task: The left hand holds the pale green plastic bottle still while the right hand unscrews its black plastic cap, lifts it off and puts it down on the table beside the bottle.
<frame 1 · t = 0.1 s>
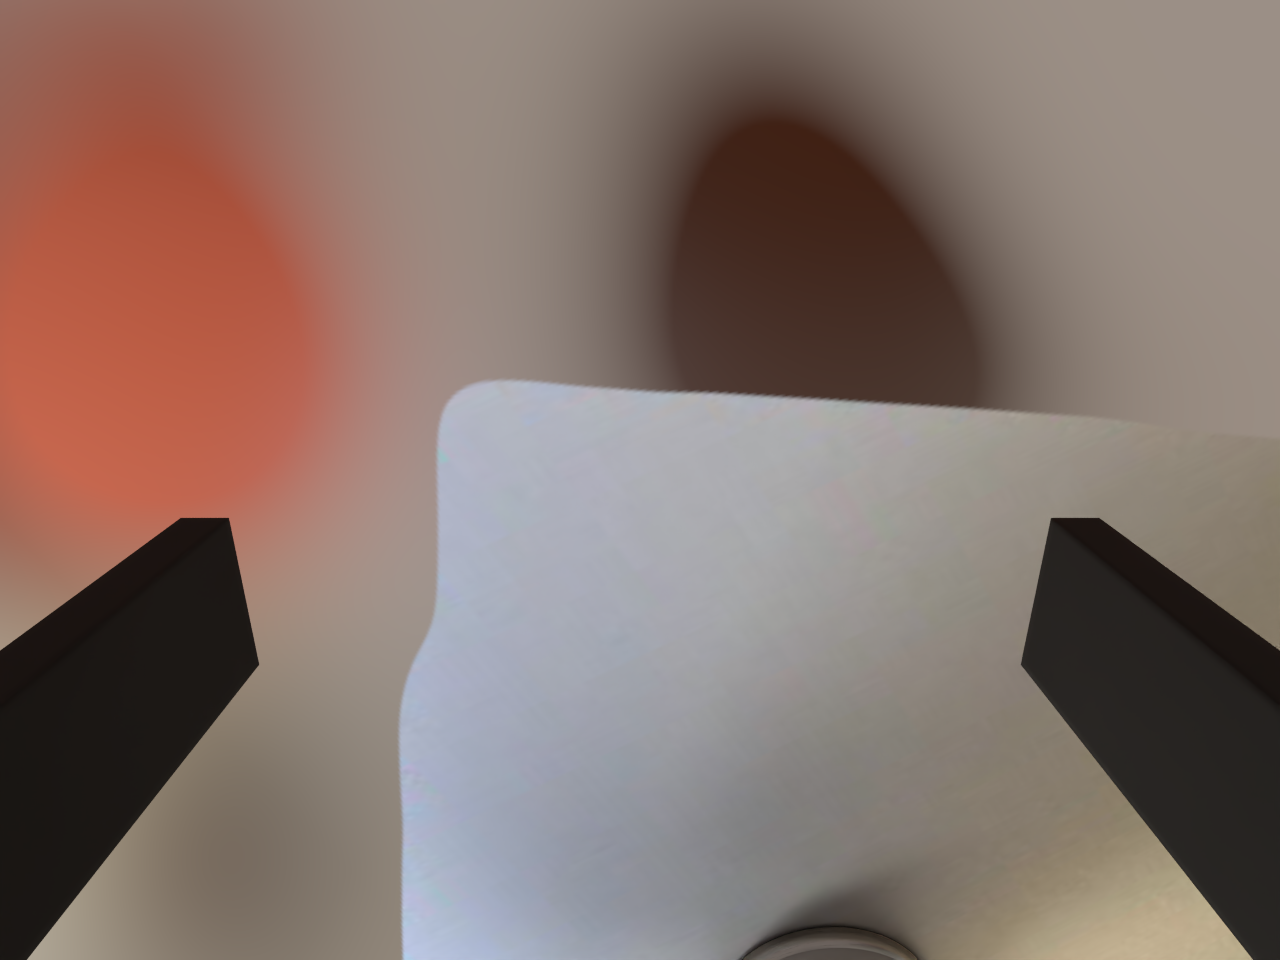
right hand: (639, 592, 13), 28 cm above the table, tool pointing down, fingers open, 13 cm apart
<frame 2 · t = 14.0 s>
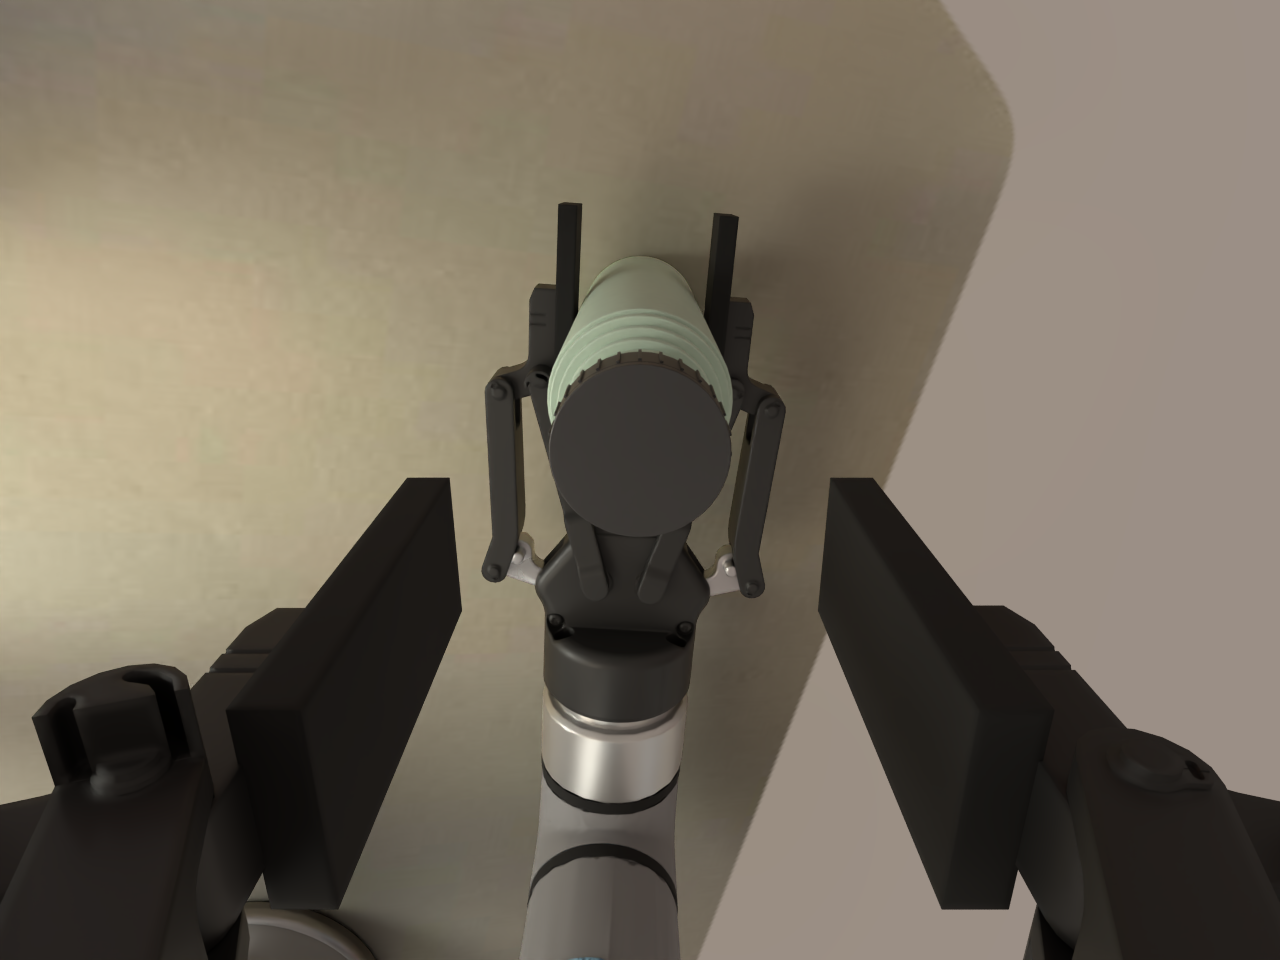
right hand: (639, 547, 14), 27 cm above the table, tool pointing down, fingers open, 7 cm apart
left hand: (648, 210, 32), fingers closed on bottle, 6 cm apart
bottle: (639, 313, 40), on the table, touching left hand
cap: (639, 450, 19), point 22 cm above the table, screwed on, not yet turned
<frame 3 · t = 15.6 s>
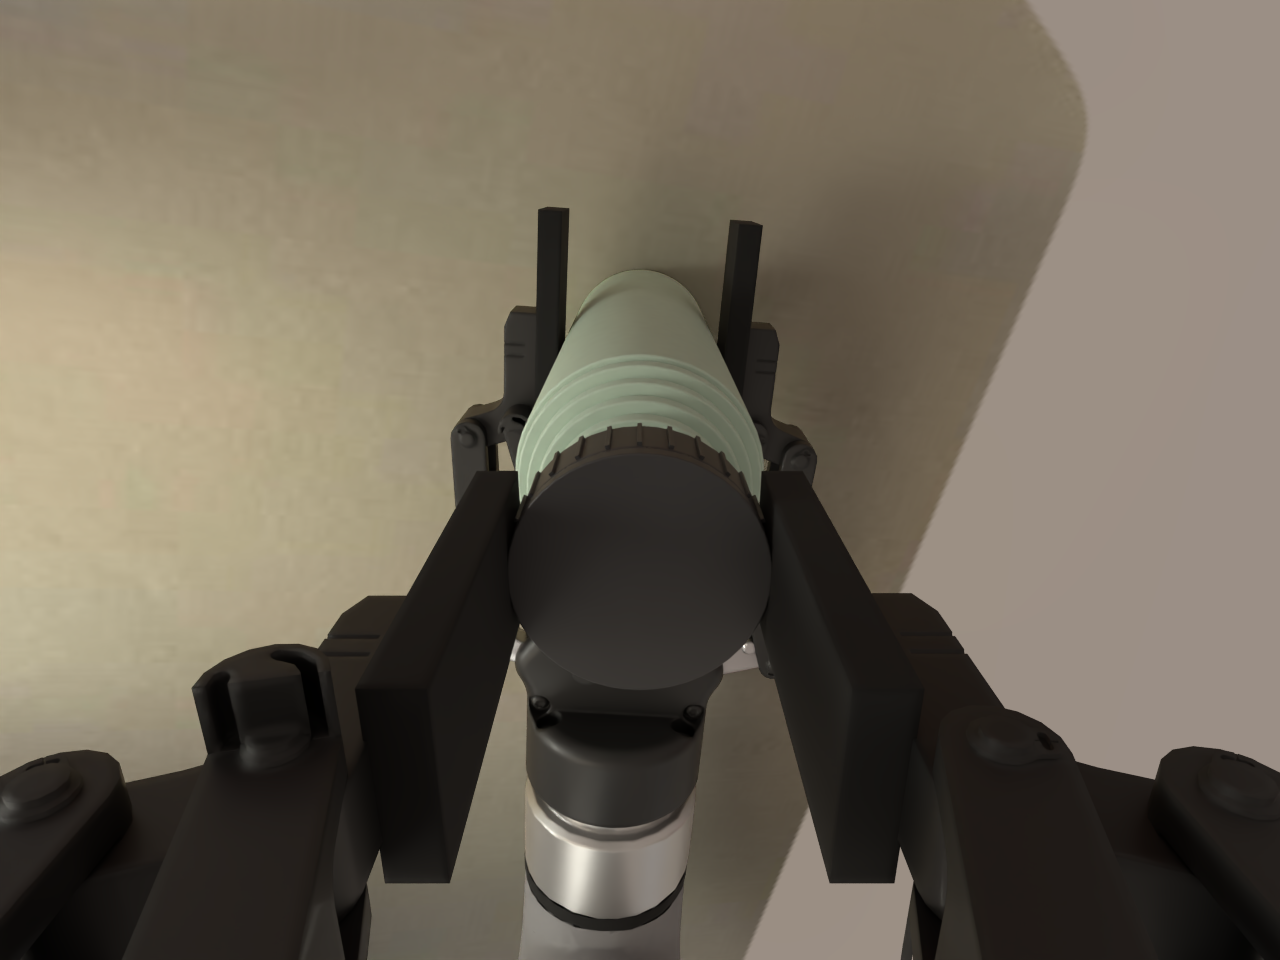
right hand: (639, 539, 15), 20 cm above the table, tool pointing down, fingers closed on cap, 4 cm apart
bottle: (639, 336, 34), on the table, touching left hand
cap: (639, 570, 13), point 22 cm above the table, screwed on, not yet turned, touching right hand
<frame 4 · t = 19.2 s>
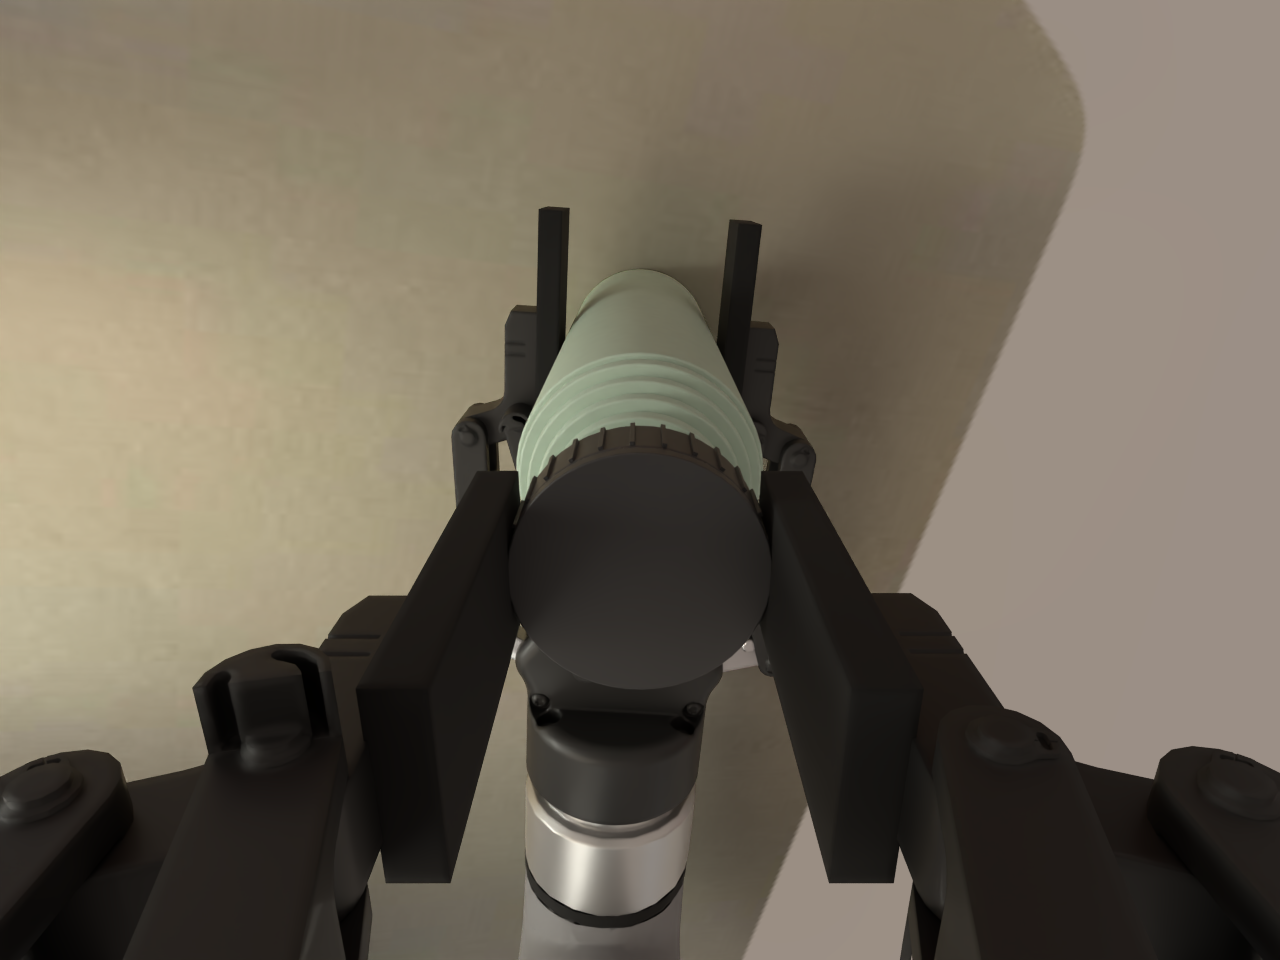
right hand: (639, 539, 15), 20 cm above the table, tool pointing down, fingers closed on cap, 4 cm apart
bottle: (639, 336, 34), on the table, touching left hand
cap: (639, 570, 13), point 22 cm above the table, turned 136° so far, risen 0.1 cm, still on its thread, touching right hand
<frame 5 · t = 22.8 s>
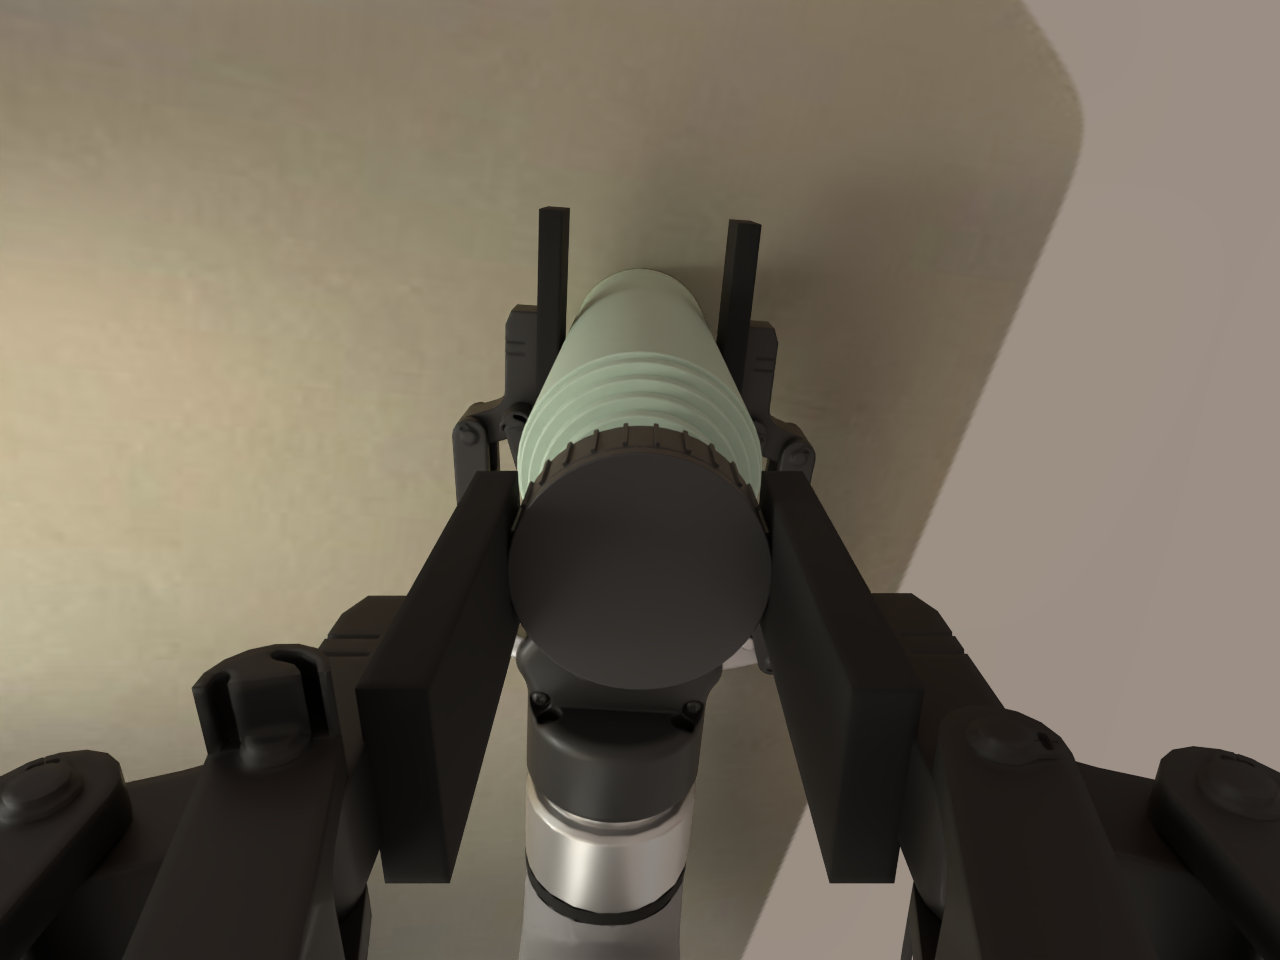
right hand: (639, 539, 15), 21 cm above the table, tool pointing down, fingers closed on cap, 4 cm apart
bottle: (639, 335, 34), on the table, touching left hand
cap: (639, 570, 13), point 22 cm above the table, turned 273° so far, risen 0.3 cm, still on its thread, touching right hand
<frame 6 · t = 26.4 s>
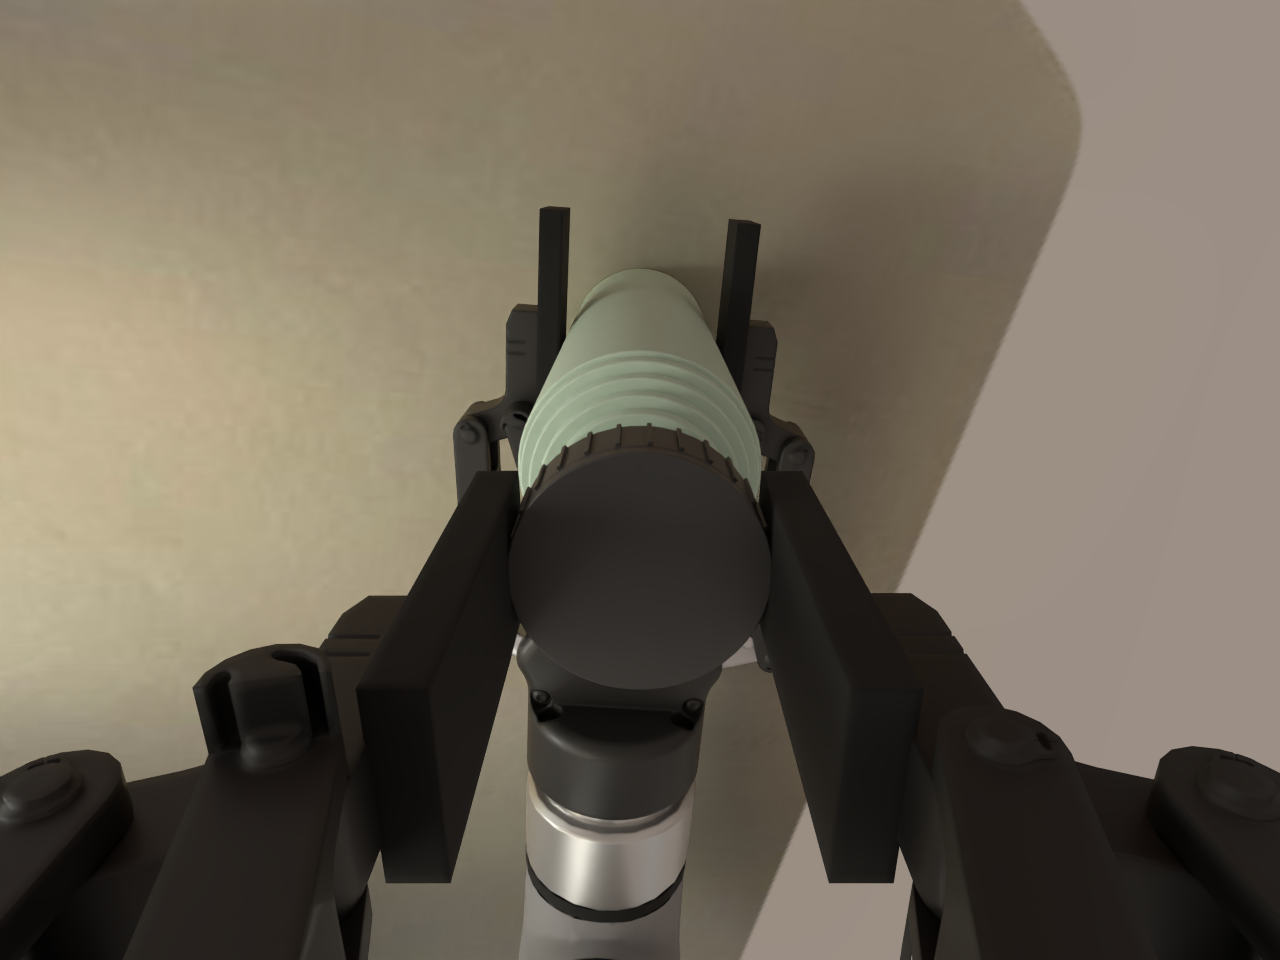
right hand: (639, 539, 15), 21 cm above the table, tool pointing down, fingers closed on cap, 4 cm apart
bottle: (639, 334, 34), on the table, touching left hand
cap: (639, 570, 13), point 22 cm above the table, turned 409° so far, risen 0.4 cm, still on its thread, touching right hand
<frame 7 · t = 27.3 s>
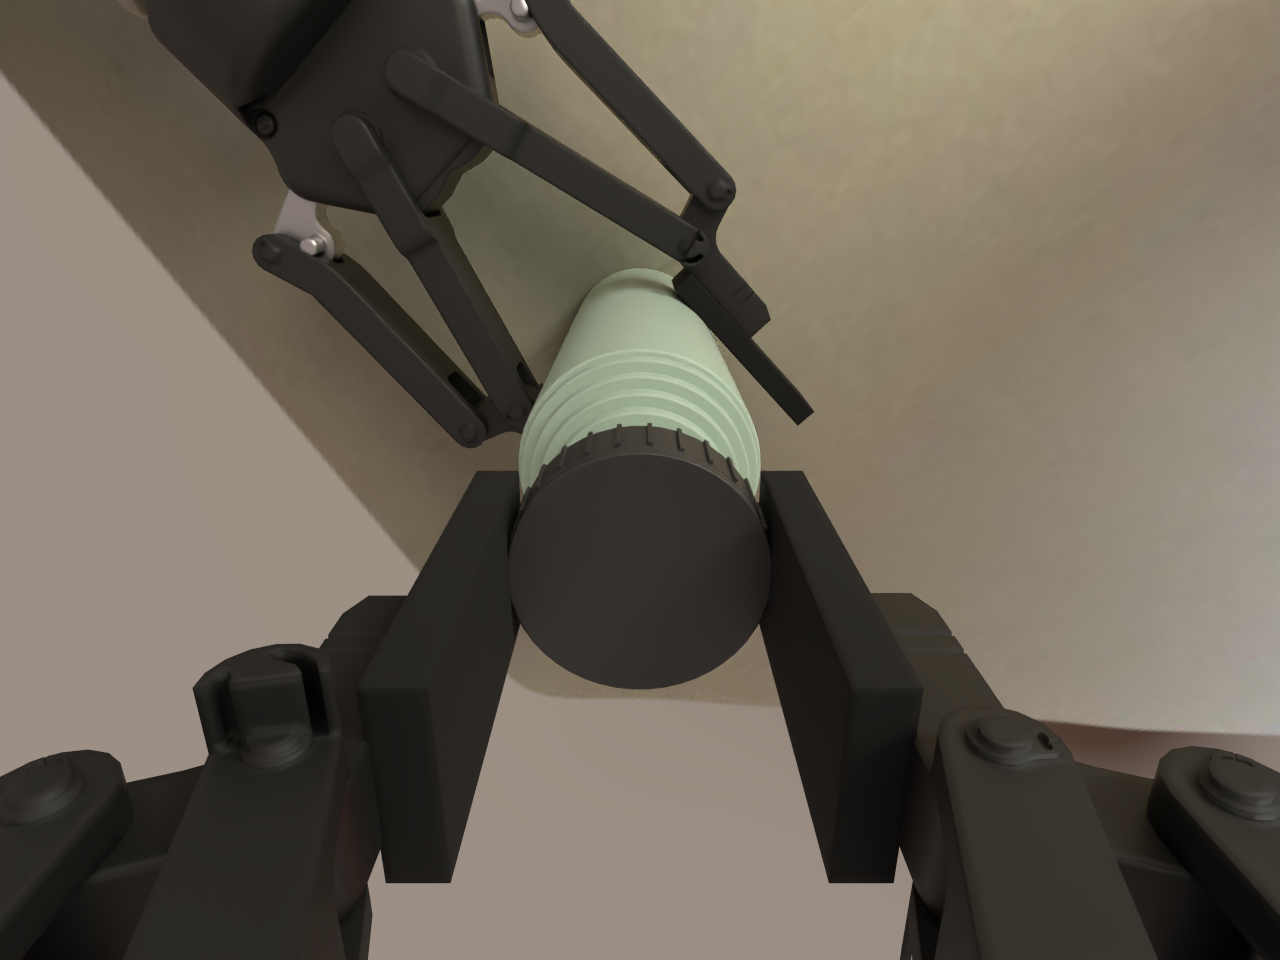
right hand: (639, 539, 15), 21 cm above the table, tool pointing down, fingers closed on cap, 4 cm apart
left hand: (732, 463, 30), fingers closed on bottle, 6 cm apart
bottle: (639, 334, 34), on the table, touching left hand
cap: (639, 570, 13), point 22 cm above the table, off its thread, touching right hand
when the right hand's fingers open (1 cm above the table, at t = 32.7 s): cap stays where it is, point 1 cm above the table.
when the left hand's fingers open (6 cm above the table, at t = 33.8 s): bottle stays where it is, on the table.
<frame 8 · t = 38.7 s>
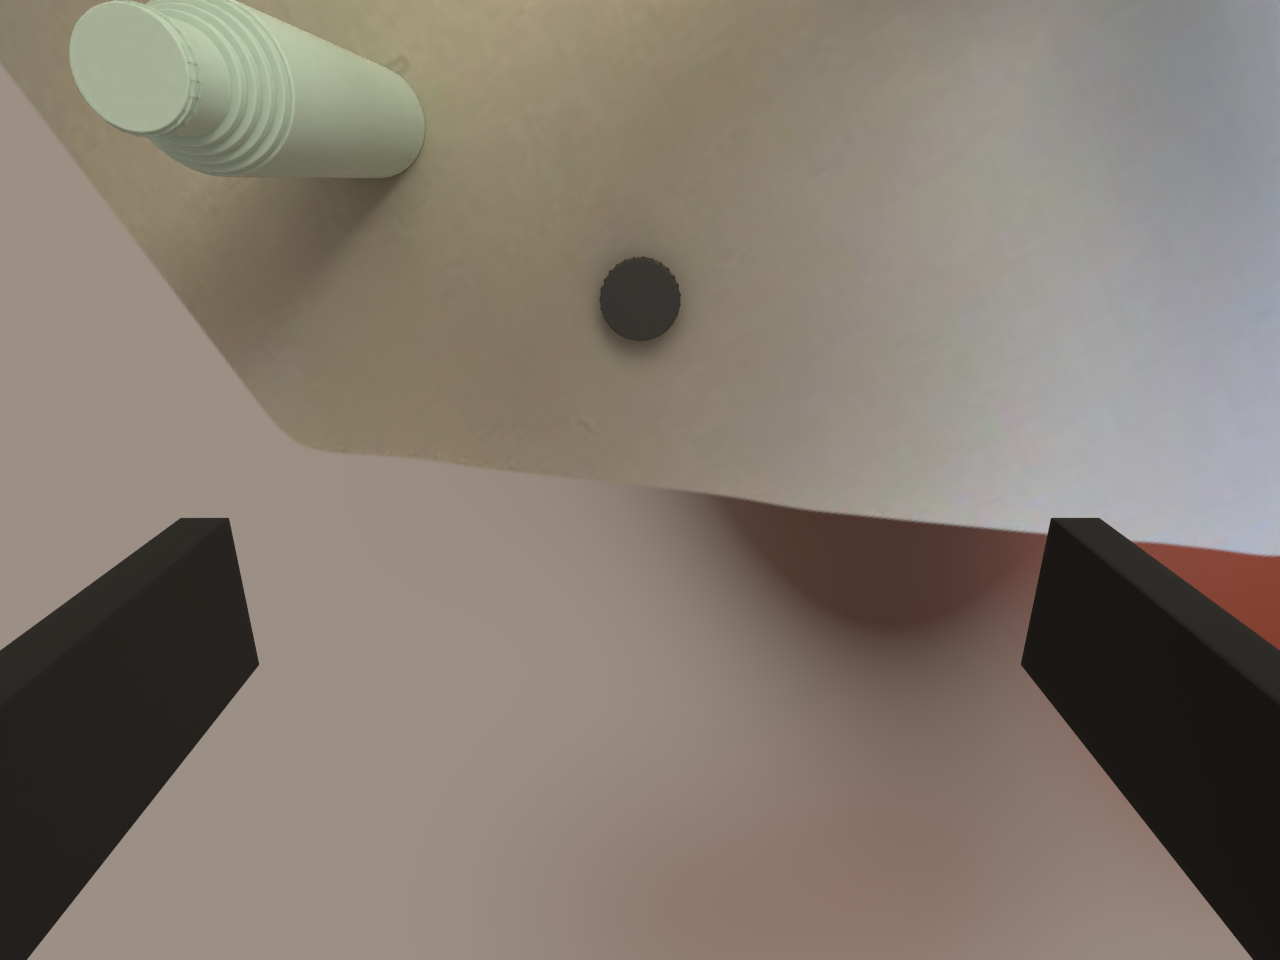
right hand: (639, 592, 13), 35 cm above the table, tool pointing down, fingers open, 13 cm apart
bottle: (372, 122, 42), on the table
cap: (640, 300, 44), point 1 cm above the table, off its thread
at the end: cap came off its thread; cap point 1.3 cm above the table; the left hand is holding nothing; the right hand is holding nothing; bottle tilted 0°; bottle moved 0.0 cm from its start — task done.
